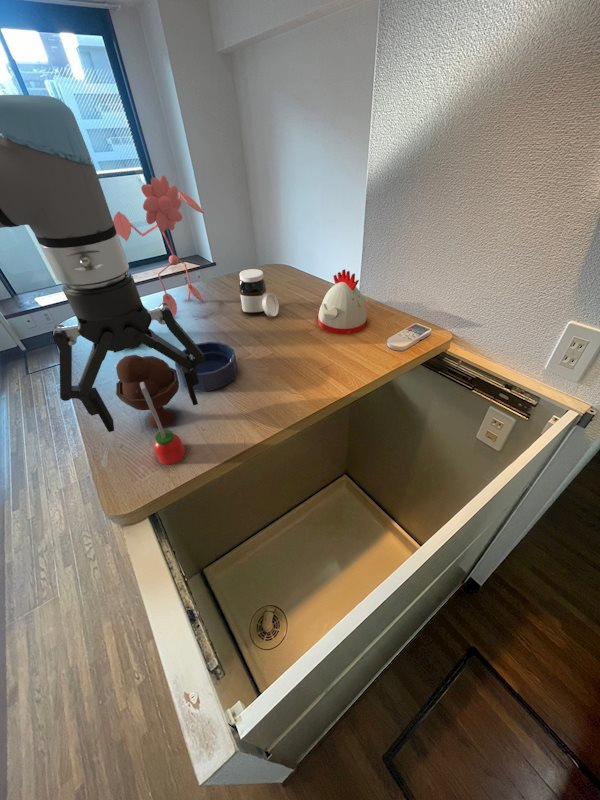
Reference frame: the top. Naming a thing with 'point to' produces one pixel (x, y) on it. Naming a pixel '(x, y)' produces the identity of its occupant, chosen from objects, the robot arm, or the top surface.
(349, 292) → the kitchen timer
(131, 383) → the ice cream bowl
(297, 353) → the top surface
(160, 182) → the figurine
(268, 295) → the spread jar
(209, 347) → the dessert bowl
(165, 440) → the red candy apple
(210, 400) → the top surface
